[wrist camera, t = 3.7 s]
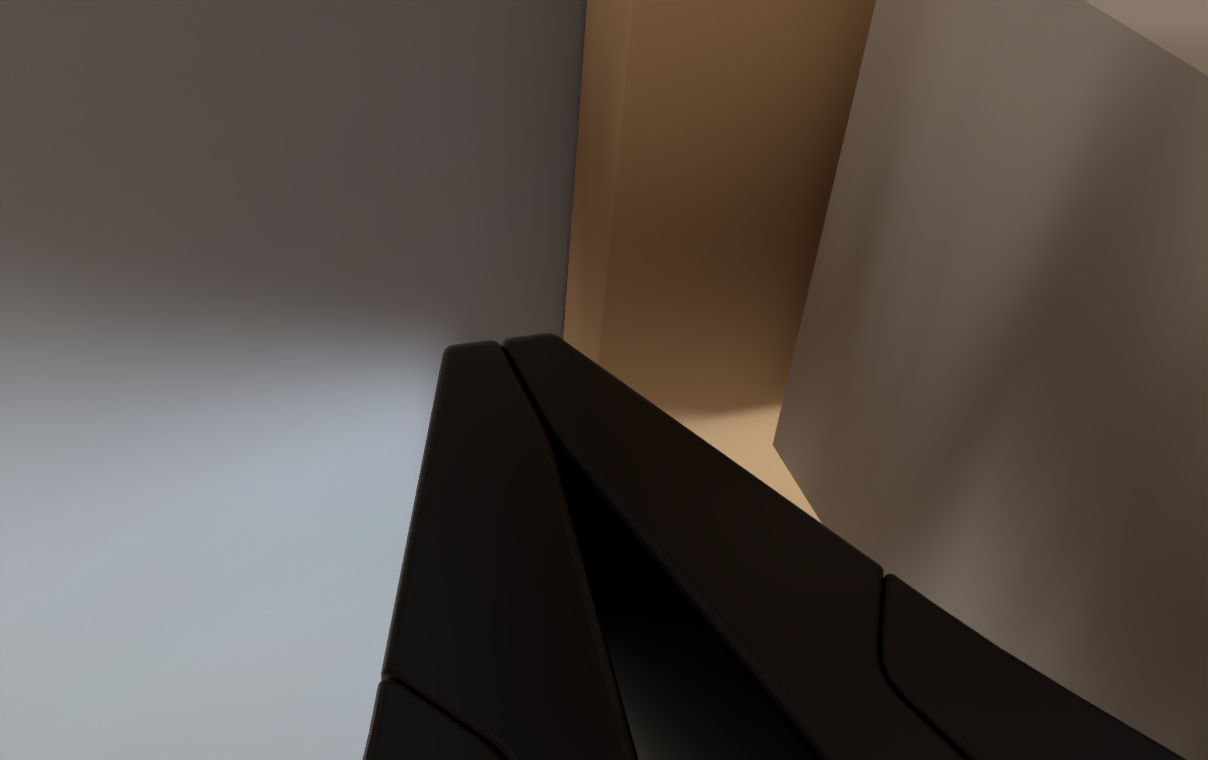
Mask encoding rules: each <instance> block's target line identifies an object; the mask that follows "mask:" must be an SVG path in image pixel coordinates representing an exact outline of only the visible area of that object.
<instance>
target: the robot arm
mask: <svg viewBox="0 0 1208 760" xmlns="http://www.w3.org/2000/svg"><path fill="white" fill-rule="evenodd" d="M381 680H382V681H380V683H379V685H378V688H377V694H376V699H375V704H374V709H373V715H372V720H371V725H370V730H369V735H368V739H367V743H366V748H365V752H364V756H363V760H1187V759H1185V758H1184V757H1182V756H1180V755H1178V754H1177V753H1175V752H1173V751H1172V750H1170V749H1168V748H1167V747H1165V746H1163V745H1161V744H1160V743H1158V742H1156V741H1155V740H1153V739H1151V738H1150V737H1148V736H1146V735H1144V734H1143V733H1141V732H1139V731H1138V730H1136V729H1134V728H1133V727H1131V726H1129V725H1127V724H1126V723H1124V722H1122V721H1121V720H1119V719H1117V718H1116V717H1114V716H1112V715H1110V714H1109V713H1107V712H1105V711H1104V710H1102V709H1100V708H1099V707H1097V706H1095V705H1094V704H1092V703H1090V702H1088V701H1087V700H1085V699H1083V698H1082V697H1080V696H1078V695H1077V694H1075V693H1073V692H1072V691H1070V690H1068V689H1067V688H1065V687H1064V686H1062V685H1060V684H1059V683H1057V682H1055V681H1054V680H1052V679H1051V678H1049V677H1047V676H1046V675H1044V674H1042V673H1041V672H1039V671H1038V670H1036V669H1034V668H1033V667H1031V666H1029V665H1028V664H1026V663H1025V662H1023V661H1021V660H1020V659H1018V658H1016V657H1015V656H1013V655H1012V654H1010V653H1008V652H1007V651H1005V650H1003V649H1002V648H1000V647H999V646H997V645H996V644H994V643H993V642H991V641H990V640H988V639H987V638H985V637H984V636H982V635H981V634H979V633H978V632H976V631H975V630H974V629H972V628H971V627H969V626H968V625H966V624H965V623H963V622H962V621H960V620H959V619H957V618H956V617H954V616H953V615H951V614H950V613H948V612H947V611H945V610H944V609H942V608H941V607H940V606H938V605H937V604H935V603H934V602H932V601H931V600H929V599H928V598H927V597H925V596H924V595H922V594H921V593H920V592H918V591H917V590H915V589H914V588H912V587H911V586H910V585H908V584H907V583H905V582H904V581H903V580H901V579H900V578H898V577H897V576H896V575H894V574H891V573H889V574H887V575H885V576H884V570H883V567H882V566H881V565H879V564H878V563H877V562H875V561H874V560H872V559H871V558H870V557H868V556H867V555H865V554H864V553H863V552H861V551H860V550H858V549H857V548H856V547H854V546H853V545H851V544H850V543H848V542H847V541H846V540H844V539H843V538H841V537H840V536H839V535H837V534H836V533H834V532H833V531H832V530H830V529H829V528H827V527H826V526H825V525H823V524H822V523H820V522H819V521H818V520H816V519H815V518H813V517H812V516H810V515H809V514H808V513H806V512H805V511H803V510H802V509H801V508H799V507H798V506H796V505H795V504H794V503H792V502H791V501H789V500H788V499H787V498H785V497H784V496H782V495H781V494H780V493H778V492H777V491H775V490H774V489H772V488H771V487H770V486H768V485H767V484H765V483H764V482H763V481H761V480H760V479H758V478H757V477H756V476H754V475H753V474H751V473H750V472H749V471H747V470H746V469H744V468H743V467H742V466H740V465H739V464H737V463H736V462H734V461H733V460H732V459H730V458H729V457H727V456H726V455H725V454H723V453H722V452H720V451H719V450H718V449H716V448H715V447H713V446H712V445H711V444H709V443H708V442H706V441H705V440H704V439H702V438H701V437H699V436H698V435H696V434H695V433H694V432H692V431H691V430H689V429H688V428H687V427H685V426H684V425H682V424H681V423H680V422H678V421H677V420H675V419H674V418H673V417H671V416H670V415H668V414H667V413H666V412H664V411H663V410H661V409H660V408H658V407H657V406H656V405H654V404H653V403H651V402H650V401H649V400H647V399H646V398H644V397H643V396H642V395H640V394H639V393H637V392H636V391H635V390H633V389H632V388H630V387H629V386H628V385H626V384H625V383H623V382H622V381H620V380H619V379H618V378H616V377H615V376H613V375H612V374H611V373H609V372H608V371H606V370H605V369H604V368H602V367H601V366H599V365H598V364H597V363H595V362H594V361H592V360H591V359H590V358H588V357H587V356H585V355H584V354H583V353H581V352H580V351H578V350H577V349H575V348H574V347H573V346H571V345H570V344H568V343H567V342H566V341H564V340H563V339H561V338H560V337H558V336H556V335H554V334H551V333H543V334H535V335H528V336H520V337H512V338H507V339H505V340H504V341H503V342H502V343H501V345H499V344H498V343H497V342H494V341H481V342H473V343H465V344H457V345H451V346H449V347H447V348H446V349H445V351H444V352H443V356H442V361H441V366H440V372H439V377H438V382H437V387H436V392H435V397H434V403H433V408H432V413H431V418H430V423H429V429H428V434H427V439H426V444H425V449H424V454H423V460H422V465H421V470H420V475H419V480H418V485H417V491H416V496H415V501H414V506H413V511H412V516H411V522H410V527H409V532H408V537H407V542H406V548H405V553H404V558H403V563H402V568H401V573H400V579H399V584H398V589H397V594H396V599H395V604H394V610H393V615H392V620H391V625H390V630H389V635H388V641H387V646H386V651H385V656H384V661H383V666H382V672H381Z"/></svg>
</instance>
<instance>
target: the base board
mask: <svg viewBox="0 0 1208 760" xmlns="http://www.w3.org/2000/svg"><path fill="white" fill-rule="evenodd" d="M875 4H876V0H587V7H586V21H585V36H584V50H583V64H582V78H581V92H580V107H579V121H578V135H577V149H576V164H575V178H574V192H573V206H572V220H571V235H570V249H569V263H568V277H567V292H566V306H565V320H564V334H563V340H564V341H566V342H567V343H568V344H570V345H571V346H573V347H574V348H575V349H577V350H578V351H580V352H581V353H583V354H584V355H585V356H587V357H588V358H590V359H591V360H592V361H594V362H595V363H597V364H598V365H599V366H601V367H602V368H604V369H605V370H606V371H608V372H609V373H611V374H612V375H613V376H615V377H616V378H618V379H619V380H620V381H622V382H623V383H625V384H626V385H628V386H629V387H630V388H632V389H633V390H635V391H636V392H637V393H639V394H640V395H642V396H643V397H644V398H646V399H647V400H649V401H650V402H651V403H653V404H654V405H656V406H657V407H658V408H660V409H661V410H663V411H664V412H666V413H667V414H668V415H670V416H671V417H673V418H674V419H675V420H677V421H678V422H680V423H681V424H682V425H684V426H685V427H687V428H688V429H689V430H691V431H692V432H694V433H695V434H696V435H698V436H699V437H701V438H702V439H704V440H705V441H706V442H708V443H709V444H711V445H712V446H713V447H715V448H716V449H718V450H719V451H720V452H722V453H723V454H725V455H726V456H727V457H729V458H730V459H732V460H733V461H734V462H736V463H737V464H739V465H740V466H742V467H743V468H744V469H746V470H747V471H749V472H750V473H751V474H753V475H754V476H756V477H757V478H758V479H760V480H761V481H763V482H764V483H765V484H767V485H768V486H770V487H771V488H772V489H774V490H775V491H777V492H778V493H780V494H781V495H782V496H784V497H785V498H787V499H788V500H789V501H791V502H792V503H794V504H795V505H796V506H798V507H799V508H801V509H802V510H803V511H805V512H806V513H808V514H809V515H810V516H812V517H813V518H815V519H816V520H818V521H819V522H820V523H821V521H820V520H819V518H818V517H817V515H816V513H815V512H814V510H813V509H812V507H811V505H810V504H809V502H808V501H807V499H806V497H805V496H804V494H803V493H802V491H801V489H800V488H799V486H798V485H797V483H796V482H795V480H794V478H793V477H792V475H791V474H790V472H789V470H788V469H787V467H786V466H785V464H784V462H783V461H782V459H781V458H780V456H779V454H778V453H777V451H776V450H775V448H774V446H773V445H772V444H773V440H774V436H775V432H776V427H777V423H778V419H779V414H780V410H781V406H782V402H783V397H784V393H785V389H786V385H787V380H788V376H789V372H790V367H791V363H792V359H793V355H794V350H795V346H796V342H797V337H798V333H799V329H800V325H801V320H802V316H803V312H804V308H805V303H806V299H807V295H808V290H809V286H810V282H811V278H812V273H813V269H814V265H815V260H816V256H817V252H818V248H819V243H820V239H821V235H822V230H823V226H824V222H825V218H826V213H827V209H828V205H829V201H830V196H831V192H832V188H833V183H834V179H835V175H836V171H837V166H838V162H839V158H840V153H841V149H842V145H843V141H844V136H845V132H846V128H847V123H848V119H849V115H850V111H851V106H852V102H853V98H854V94H855V89H856V85H857V81H858V76H859V72H860V68H861V64H862V59H863V55H864V51H865V46H866V42H867V38H868V34H869V29H870V25H871V21H872V17H873V12H874V8H875Z"/></svg>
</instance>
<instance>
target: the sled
mask: <svg viewBox="0 0 1208 760" xmlns="http://www.w3.org/2000/svg"><path fill="white" fill-rule="evenodd" d="M772 445H773V446H774V448H775V450H776V451H777V453H778V454H779V456H780V458H781V459H782V461H783V462H784V464H785V466H786V467H787V469H788V470H789V472H790V474H791V475H792V477H793V478H794V480H795V482H796V483H797V485H798V486H799V488H800V489H801V491H802V493H803V494H804V496H805V497H806V499H807V501H808V502H809V504H810V505H811V507H812V509H813V510H814V512H815V513H816V515H817V517H818V518H819V520H820V521H821V523H822V524H823V525H825V526H826V527H827V528H829V529H830V530H832V531H833V532H834V533H836V534H837V535H839V536H840V537H841V538H843V539H844V540H846V541H847V542H848V543H850V544H851V545H853V546H854V547H856V548H857V549H858V550H860V551H861V552H863V553H864V554H865V555H867V556H868V557H870V558H871V559H872V560H874V561H875V562H877V563H878V564H879V565H881V566H882V567H883V570H884V576H885V575H887V574H889V573H891V574H894V575H896V576H897V577H898V578H900V579H901V580H903V581H904V582H905V583H907V584H908V585H910V586H911V587H912V588H914V589H915V590H917V591H918V592H920V593H921V594H922V595H924V596H925V597H927V598H928V599H929V600H931V601H932V602H934V603H935V604H937V605H938V606H940V607H941V608H942V609H944V610H945V611H947V612H948V613H950V614H951V615H953V616H954V617H956V618H957V619H959V620H960V621H962V622H963V623H965V624H966V625H968V626H969V627H971V628H972V629H974V630H975V631H976V632H978V633H979V634H981V635H982V636H984V637H985V638H987V639H988V640H990V641H991V642H993V643H994V644H996V645H997V646H999V647H1000V648H1002V649H1003V650H1005V651H1007V652H1008V653H1010V654H1012V655H1013V656H1015V657H1016V658H1018V659H1020V660H1021V661H1023V662H1025V663H1026V664H1028V665H1029V666H1031V667H1033V668H1034V669H1036V670H1038V671H1039V672H1041V673H1042V674H1044V675H1046V676H1047V677H1049V678H1051V679H1052V680H1054V681H1055V682H1057V683H1059V684H1060V685H1062V686H1064V687H1065V688H1067V689H1068V690H1070V691H1072V692H1073V693H1075V694H1077V695H1078V696H1080V697H1082V698H1083V699H1085V700H1087V701H1088V702H1090V703H1092V704H1094V705H1095V706H1097V707H1099V708H1100V709H1102V710H1104V711H1105V712H1107V713H1109V714H1110V715H1112V716H1114V717H1116V718H1117V719H1119V720H1121V721H1122V722H1124V723H1126V724H1127V725H1129V726H1131V727H1133V728H1134V729H1136V730H1138V731H1139V732H1141V733H1143V734H1144V735H1146V736H1148V737H1150V738H1151V739H1153V740H1155V741H1156V742H1158V743H1160V744H1161V745H1163V746H1165V747H1167V748H1168V749H1170V750H1172V751H1173V752H1175V753H1177V754H1178V755H1180V756H1182V757H1184V758H1185V759H1187V760H1208V0H876V4H875V8H874V12H873V17H872V21H871V25H870V29H869V34H868V38H867V42H866V46H865V51H864V55H863V59H862V64H861V68H860V72H859V76H858V81H857V85H856V89H855V94H854V98H853V102H852V106H851V111H850V115H849V119H848V123H847V128H846V132H845V136H844V141H843V145H842V149H841V153H840V158H839V162H838V166H837V171H836V175H835V179H834V183H833V188H832V192H831V196H830V201H829V205H828V209H827V213H826V218H825V222H824V226H823V230H822V235H821V239H820V243H819V248H818V252H817V256H816V260H815V265H814V269H813V273H812V278H811V282H810V286H809V290H808V295H807V299H806V303H805V308H804V312H803V316H802V320H801V325H800V329H799V333H798V337H797V342H796V346H795V350H794V355H793V359H792V363H791V367H790V372H789V376H788V380H787V385H786V389H785V393H784V397H783V402H782V406H781V410H780V414H779V419H778V423H777V427H776V432H775V436H774V440H773V444H772Z"/></svg>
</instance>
